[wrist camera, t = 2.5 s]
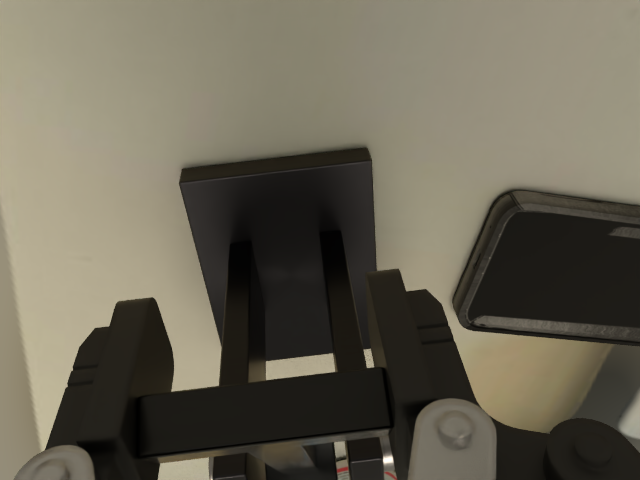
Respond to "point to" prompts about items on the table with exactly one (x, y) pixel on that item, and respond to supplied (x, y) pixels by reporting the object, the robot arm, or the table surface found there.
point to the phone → (555, 270)
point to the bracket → (287, 274)
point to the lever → (268, 421)
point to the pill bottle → (343, 472)
